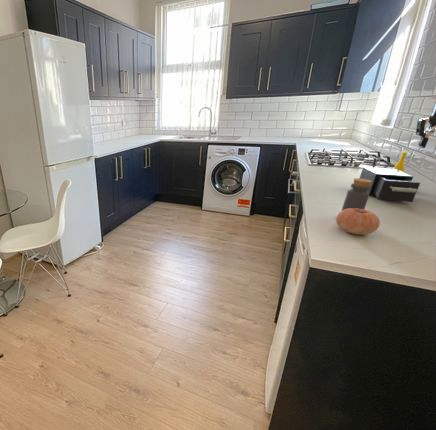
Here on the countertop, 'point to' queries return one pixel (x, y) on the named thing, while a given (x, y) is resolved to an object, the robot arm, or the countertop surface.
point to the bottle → (357, 194)
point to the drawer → (395, 188)
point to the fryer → (375, 172)
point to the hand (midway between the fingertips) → (432, 148)
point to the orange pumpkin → (357, 221)
